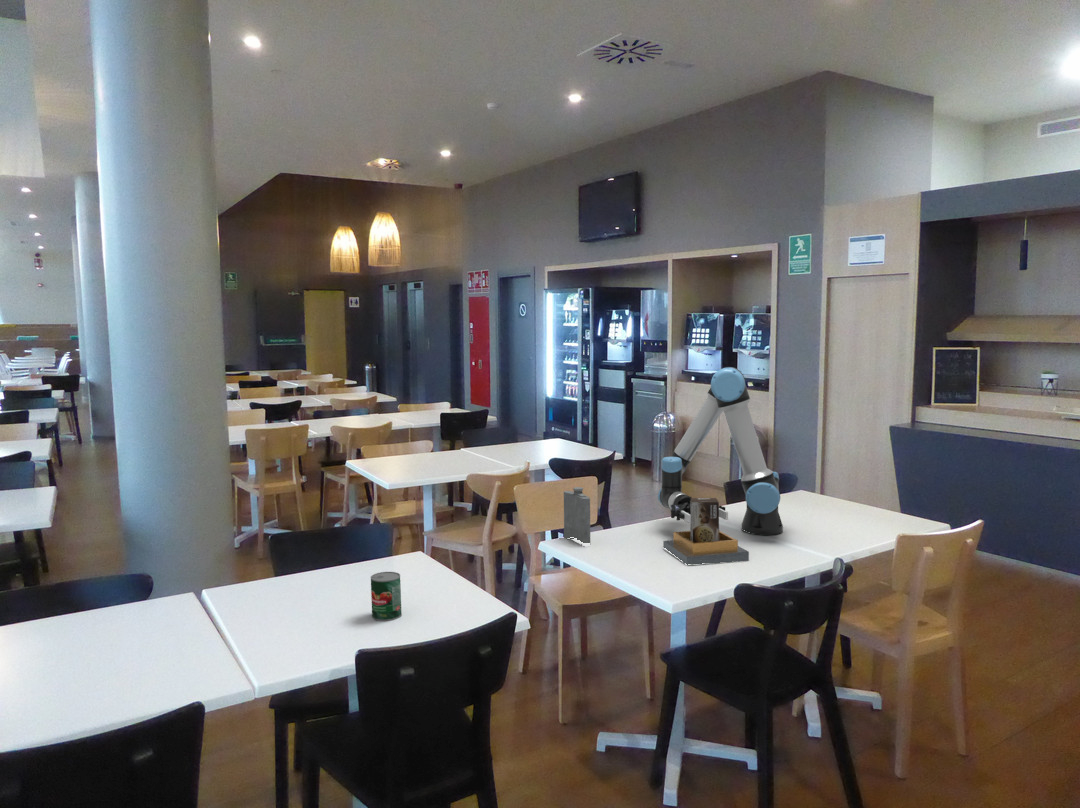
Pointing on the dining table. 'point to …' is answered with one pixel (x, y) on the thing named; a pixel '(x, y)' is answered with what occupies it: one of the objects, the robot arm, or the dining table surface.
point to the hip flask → (577, 515)
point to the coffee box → (704, 520)
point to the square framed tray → (705, 549)
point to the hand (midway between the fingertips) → (708, 517)
